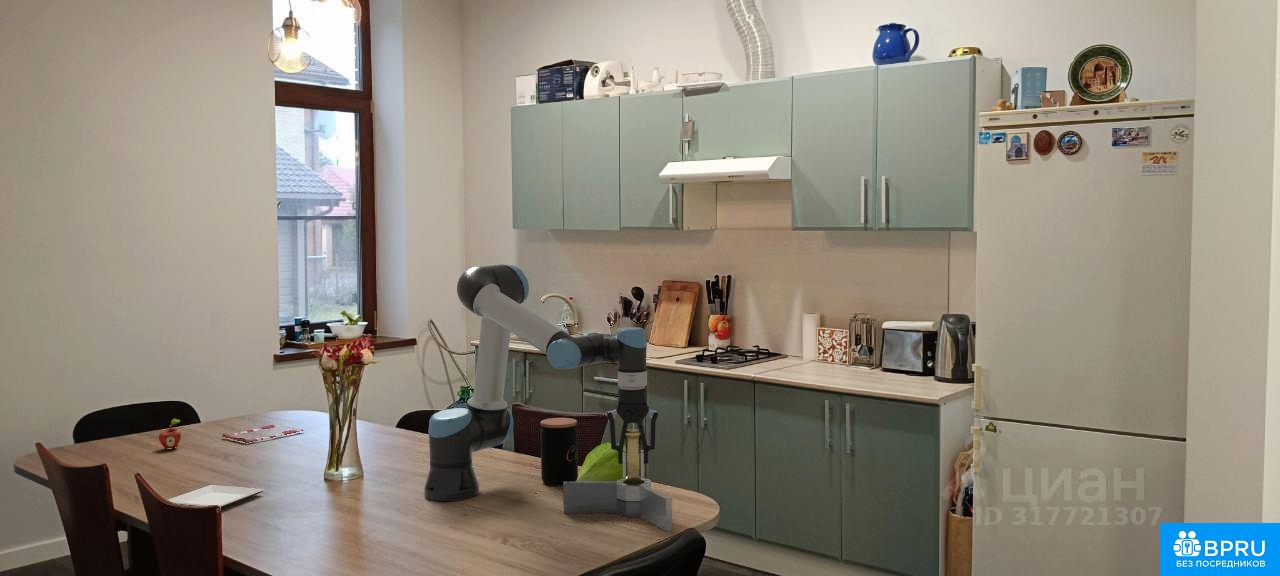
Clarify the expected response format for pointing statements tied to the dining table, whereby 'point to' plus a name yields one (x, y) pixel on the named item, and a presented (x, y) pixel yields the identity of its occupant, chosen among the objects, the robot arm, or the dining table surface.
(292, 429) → the dish towel
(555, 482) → the coffee jar
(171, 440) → the apple
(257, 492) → the plate
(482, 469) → the dining table surface
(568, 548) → the dining table surface
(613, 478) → the lettuce
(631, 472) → the pin
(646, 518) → the hinge
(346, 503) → the dining table surface
